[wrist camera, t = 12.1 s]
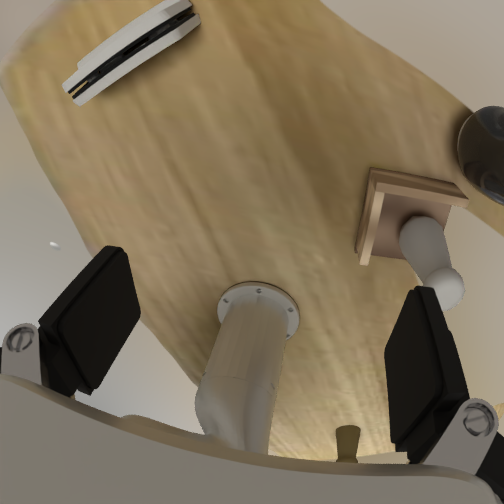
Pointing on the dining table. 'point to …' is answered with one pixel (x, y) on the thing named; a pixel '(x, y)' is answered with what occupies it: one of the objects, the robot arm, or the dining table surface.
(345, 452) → the brown pawn
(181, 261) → the dining table surface
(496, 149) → the pump dispenser
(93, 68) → the white rounded block
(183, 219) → the dining table surface
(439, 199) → the corner tray
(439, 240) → the salt shaker
